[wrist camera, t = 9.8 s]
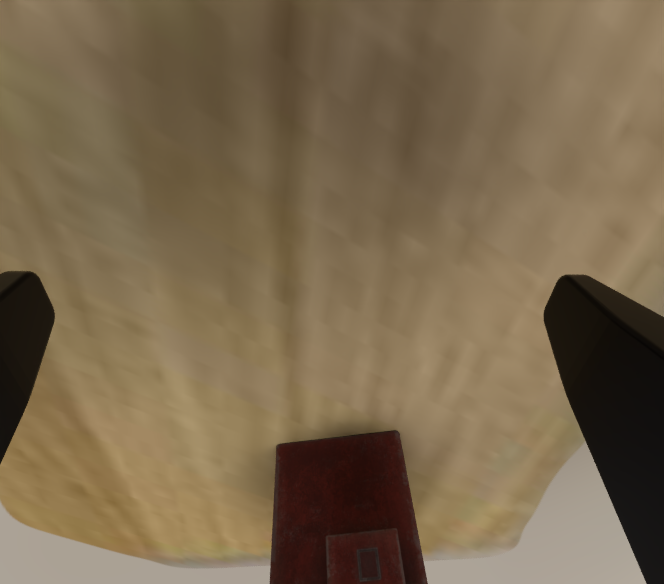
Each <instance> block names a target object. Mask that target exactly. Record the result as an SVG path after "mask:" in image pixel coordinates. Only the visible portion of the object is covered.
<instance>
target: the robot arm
mask: <svg viewBox="0 0 664 584" xmlns="http://www.w3.org/2000/svg"><path fill="white" fill-rule="evenodd" d="M54 319H55V313H54V308H53V306H52V304H51V302H50V299H49V297H48V295H47V293H46V291H45V289H44V287H43V284H42V282H41V280H40V278H39V277H38V276H37V275H36V274H35V273H33V272H30V271H7V272H4V273H1V274H0V464H1V462H2V459H3V457H4V455H5V453H6V450H7V448H8V446H9V444H10V442H11V439H12V437H13V435H14V433H15V431H16V428H17V426H18V424H19V422H20V420H21V417H22V415H23V413H24V410H25V408H26V406H27V403H28V401H29V398H30V396H31V393H32V390H33V387H34V384H35V381H36V378H37V375H38V371H39V368H40V365H41V362H42V359H43V356H44V353H45V349H46V346H47V343H48V340H49V337H50V334H51V331H52V327H53V324H54ZM544 323H545V327H546V330H547V334H548V337H549V340H550V344H551V347H552V350H553V354H554V357H555V360H556V364H557V367H558V370H559V374H560V377H561V380H562V383H563V386H564V389H565V392H566V395H567V398H568V400H569V403H570V405H571V408H572V410H573V412H574V415H575V417H576V419H577V422H578V424H579V426H580V429H581V431H582V433H583V436H584V438H585V441H586V443H587V445H588V448H589V450H590V452H591V454H592V457H593V459H594V462H595V464H596V466H597V468H598V471H599V473H600V476H601V478H602V480H603V482H604V485H605V487H606V489H607V492H608V494H609V497H610V499H611V501H612V503H613V506H614V508H615V511H616V513H617V515H618V517H619V520H620V522H621V525H622V527H623V529H624V532H625V534H626V536H627V539H628V541H629V543H630V546H631V548H632V550H633V553H634V555H635V558H636V560H637V562H638V564H639V566H640V569H641V572H642V574H643V576H644V578H645V581H646V583H647V584H664V317H663V316H661V315H659V314H657V313H655V312H653V311H652V310H650V309H648V308H646V307H644V306H642V305H641V304H639V303H637V302H635V301H633V300H632V299H630V298H628V297H626V296H624V295H622V294H621V293H619V292H617V291H615V290H613V289H611V288H610V287H608V286H606V285H604V284H602V283H601V282H599V281H597V280H595V279H593V278H591V277H589V276H587V275H564V276H562V277H560V278H559V279H558V281H557V283H556V285H555V287H554V289H553V292H552V294H551V296H550V298H549V300H548V303H547V305H546V307H545V310H544Z"/></svg>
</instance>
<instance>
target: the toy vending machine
mask: <svg viewBox="0 0 664 584" xmlns="http://www.w3.org/2000/svg"><path fill="white" fill-rule="evenodd" d="M270 584H428V583H427V578H426V573H425V567H424V562H423V557H422V551H421V546H420V541H419V535H418V530H417V525H416V519H415V514H414V509H413V503H412V498H411V493H410V488H409V482H408V477H407V472H406V466H405V461H404V456H403V450H402V445H401V440H400V434H399V432H398V431H388V432H379V433H371V434H362V435H354V436H345V437H337V438H328V439H320V440H311V441H303V442H294V443H285V444H279V445H277V448H276V468H275V488H274V509H273V529H272V549H271V569H270Z"/></svg>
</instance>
